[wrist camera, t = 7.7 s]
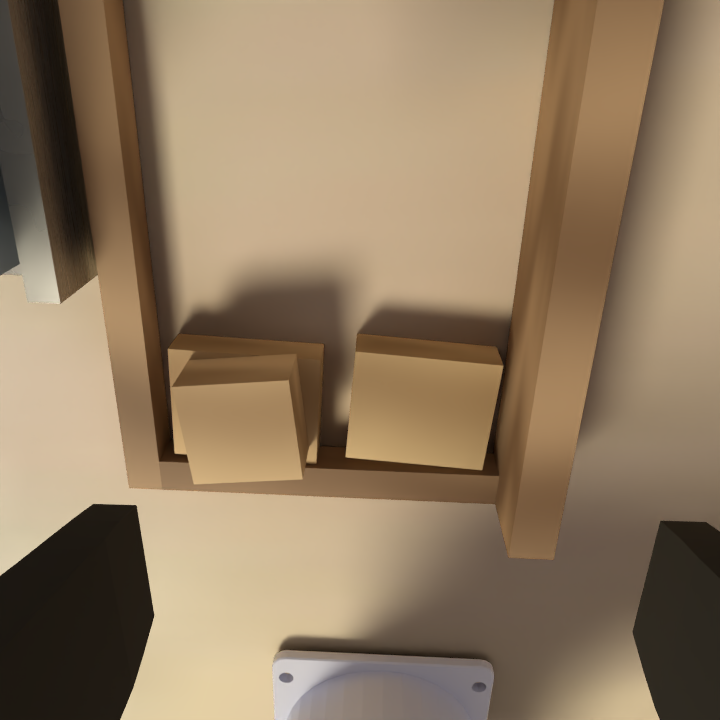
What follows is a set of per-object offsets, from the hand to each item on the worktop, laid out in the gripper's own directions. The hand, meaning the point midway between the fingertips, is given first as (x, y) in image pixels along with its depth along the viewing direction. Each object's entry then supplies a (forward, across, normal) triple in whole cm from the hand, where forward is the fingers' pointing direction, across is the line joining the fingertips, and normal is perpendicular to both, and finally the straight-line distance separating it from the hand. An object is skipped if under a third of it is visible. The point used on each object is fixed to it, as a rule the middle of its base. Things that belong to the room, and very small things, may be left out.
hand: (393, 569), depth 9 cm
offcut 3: (+11, -1, +2) cm, 11 cm away
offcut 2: (+9, +4, +2) cm, 10 cm away
